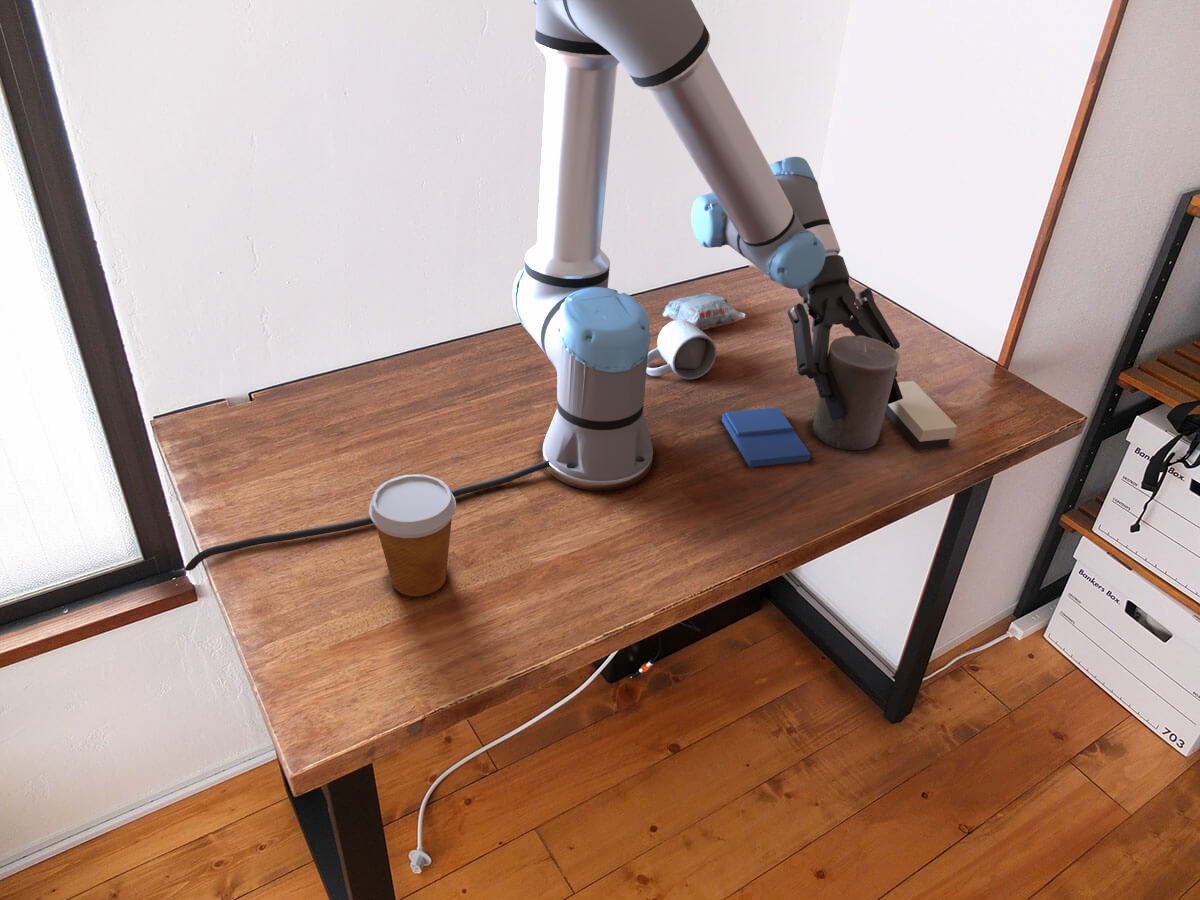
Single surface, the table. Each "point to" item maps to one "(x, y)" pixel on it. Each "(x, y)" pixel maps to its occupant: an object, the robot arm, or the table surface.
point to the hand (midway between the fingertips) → (868, 409)
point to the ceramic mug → (683, 351)
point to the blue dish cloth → (765, 437)
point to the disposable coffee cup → (414, 531)
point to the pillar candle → (857, 392)
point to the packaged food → (703, 310)
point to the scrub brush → (920, 418)
